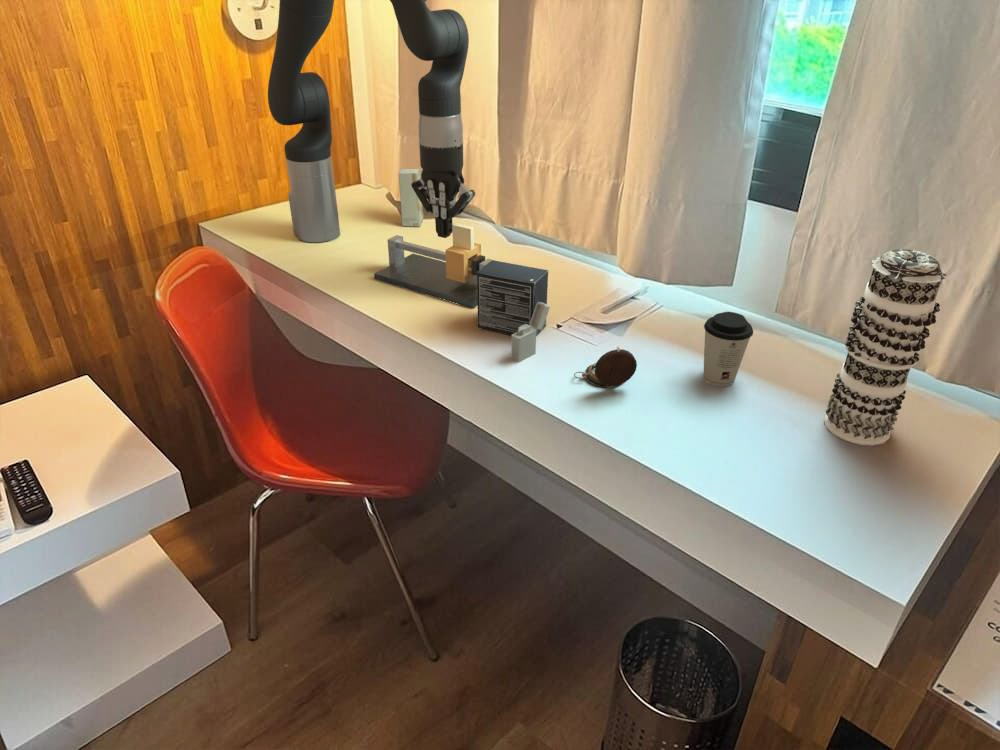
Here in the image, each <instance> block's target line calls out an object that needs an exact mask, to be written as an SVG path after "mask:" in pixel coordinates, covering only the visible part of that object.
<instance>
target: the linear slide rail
mask: <svg viewBox="0 0 1000 750" xmlns="http://www.w3.org/2000/svg"><path fill="white" fill-rule="evenodd" d="M387 251H388V263H389V265H388V266H385V267H383V268H382V269H380V270H378V271H376V272H374V273H373V277H374V280H377V281H379V282H383V283H386V284H390V285H392V286H396V287H399V288H403V289H405V290H406V289H407V290H409V291H412V292H416V293H419V294H423V295H426V294H427V295H426V296H429V295H430V297H433V298H436V297H437V298H436V299H439V298H441V299H440V300H443V299H445V300H444V301H446V300H447V302H449V301H451V302H450V303H453V302H454V303H453V304H456V303H457V304H456V305H459V304H460V306H463V307H466V308H470V309H474V308H475V307H478V298H477V291H478V289H477V271H479V270H480V269H481V268H483V267H484V266H485V265H487V264H488V263H489V262H491V261H492V260H493V259H491V258H487V259H486V256H485V255H482V254H481V255H479V256H477V257H475V258H474V259H470V258H469V259H468V267H469V268H471V274H472V275H476V276H475V277H474V278H472V279H470V280H469V281H467V282H465V283H462V282H458V281H455V280H451V279H448V278H446V251H442V250H438V249H435V248H431V247H427V246H424V245H420V244H416V243H412V242H408V241H406V240H405V241H404V236H401V235H397V234H396V235H394V236H392V237H389V238H388V239H387ZM405 251H406V252H410V253H411V254H410V255H407V256H405Z"/></svg>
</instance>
